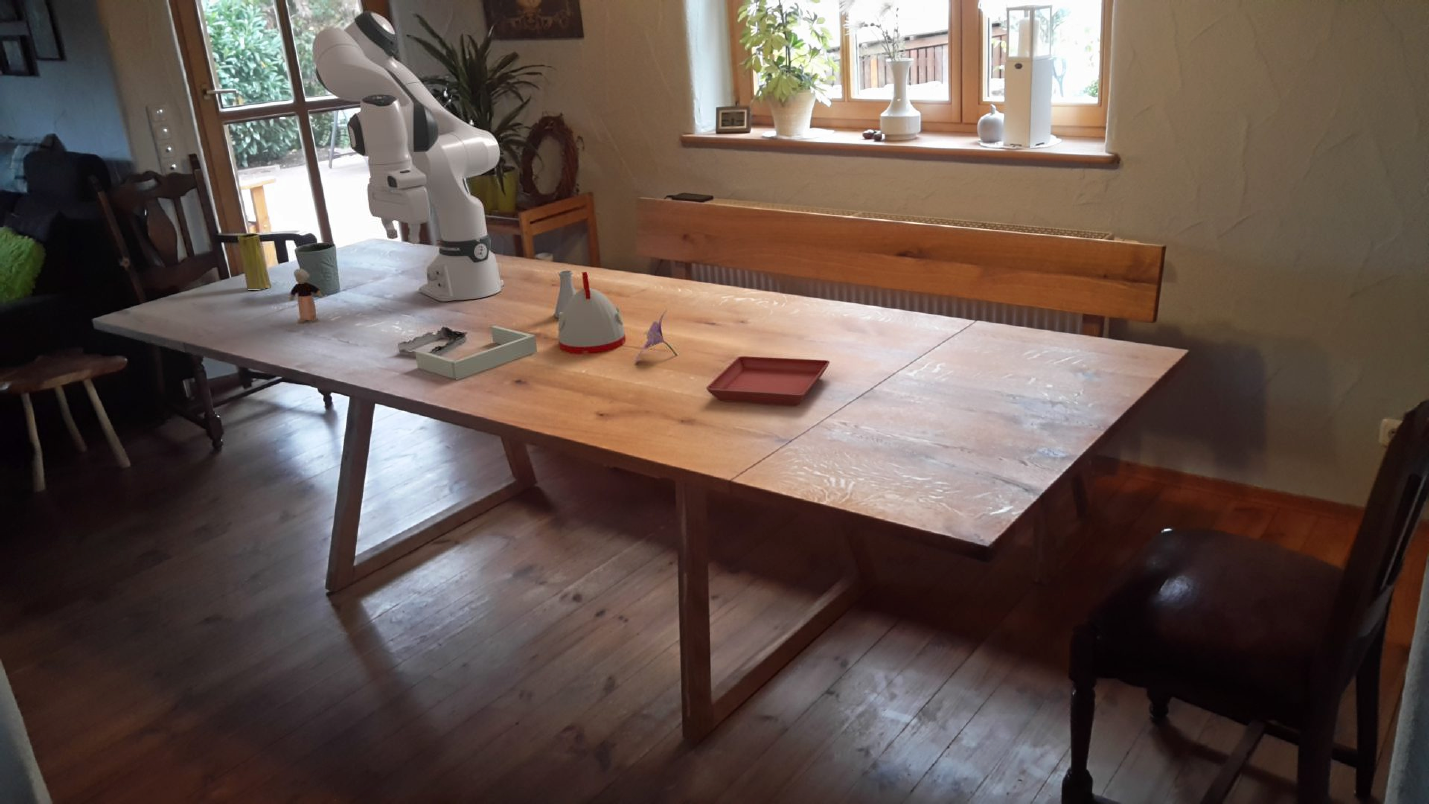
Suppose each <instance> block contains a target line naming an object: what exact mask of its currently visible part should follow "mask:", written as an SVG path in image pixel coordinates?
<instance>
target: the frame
mask: <svg viewBox="0 0 1429 804" xmlns="http://www.w3.org/2000/svg"><path fill="white" fill-rule="evenodd" d="M490 328H491V329H490V330H491V334H492V343H494V344H497V345H498V344H499V345H498V346H495V347H492V348H490V349H486V350H483V351H479V352H478V353H474V354H472V355H468V356H466V357H463V358H459V359H457V360H455V359H452V358H448V357H445V356H442V355H439V356H438V355H435V354H431V353H428V352H429V351H423V350H421V349H418V350H416V351H415V350H414V351H415V354H416V356H415V358H416V364H417V368H418V369H420V370H423V371H424V370H425V371H426V372H427V371H428V372H430V373H433V374H437V375H440V376H444V377H445V378H446V377H447V378H450V379H453V380H456V381H459V380H461V379H465V378H467V377H470V376H472V375H476V374H478V373H482V372H484V371H486V370H490V369H492V368H495V367H498V366H501V365H505V364H506V363H509V362H512V361H515V360H518V359H520V358H523V357H526V356H528V355H532V354H535V353H537V352H538V349H537V340H536V335H534V334H531V333H526V332H522V331H518V330H514V329H510V328H507V327H502V326H498V325H493V326H490Z"/></svg>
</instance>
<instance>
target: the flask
mask: <svg viewBox="0 0 1429 804" xmlns="http://www.w3.org/2000/svg"><path fill="white" fill-rule="evenodd" d="M557 273H558V275H559V279H560V285H559V293H558V297H557V302H556V306H555V311H554V316H555V318H559V313H560V312H564V309H565V307H566V305H567V303H568V302H569V300H570V299H571V298H572V296H573V295H575V294H576V293H577V291H576V289H575V286H574V283H573V279H572V275H573V271H572V270H568V269H567V270H560V271H558V272H557Z"/></svg>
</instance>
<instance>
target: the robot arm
mask: <svg viewBox="0 0 1429 804" xmlns="http://www.w3.org/2000/svg"><path fill="white" fill-rule="evenodd" d="M398 46H399V40H398V35H397V32H396V30H395V29H394V28H393V26H392V24H391V23H390V22H389V21H388V20H387V19H386V18H385V17H384V16H383V15H381V14H379V13H377V12H375V11H371V10H365V11H363V12H361V13H359V14H358V15H357V16H356V17H354V21H352V22H351V23H350V24H349V25H347V26H346V27H345V28H344V29H341V28H338V27H327V28H325V29H322V30H321V31H319V32H318V33H317V34H316V35H315V37H314V39H313V41H312V55H313V61H314V64H315V75H316V79H317V81H318V83H320V85H321V86H322V88H323V89H325V90H326V91H327V92H328V93H329V94H332V95H333V96H335V97H336V98H338V99H340V100H342V101H348V102H360V111H359V112H357V113H356V112H355V113H353V115H352V116H351V117H350V119H349V120H348V122H347V124H346V127H347V131H348V135H349V137H348V138H349V143H350V149H352V150H353V151H355V152H356V154H359V155H360V156H362V157H368V158H367V166H368V170H369V174H370V177H369V179H368V180H369V183H368V184H367V189H366V191H367V203H368V209H369V211H370V212H369V213H370V214H371V216H372V217H374V218H375V217H376V218H380V221H381V224H382V226H383V228H384V229H385V232H386V238H387V239H390V240H395V239H397V238H398V237H399V236H398V230H397V229H396V228H395V225H394V221H395V222H400V223H406V224H407V227H408V229H409V234H408V235H407V239H408V243H410V244H412V245H415V244H419V243H420V241H421V240H420V231H421V227H422V226H421V224H426V223H428V222H429V220H430V217H431V211H430V203H429V198H430V199H431V201H432V202H433V205H434V208H435V211H436V215H437V219H438V220H437V221H438V224H439V226H438V227H439V230H440V236H441V238H440V239H437V240H435V242H438V243H436V246H439V248H438V253H439V254H438V255H437V256H436V257H435V258H434V259H433V261H432V262H431V263H430V264H429V265H428V266H427V268H426V281H427V283H425V284H423V285H421V286H419V287H418V292H419V293H421V294H423V295H426V296H428V297H431V299H432V298H433V299H435V300H437V301H440V302H450V301H462V300H465V301H466V300H475V299H481V298H485V297H490V296H493V295H495V294H497V293H499V292H500V291H501V290H502V289H503V288H502V286H504V285H505V282H504V280H503V279H501V277H500V274H499V273H500V272H499V269H498V263H497V260H496V256H495V253H493V252H492V251H491V248H492V244H491V242H492V241H491V238H490V234H489V233H488V231H487V224H486V216H485V208H484V204H483V203H482V202H481V200H480V199H479V198H477V197H476V196H474V195H471V194H469V193H468V191H467V190H466V188H465V185H464V181H463V179H468V178H472V177H476V176H481V175H482V174H484V173H487V172H489V171H490V170H492V169H494V168H495V167H496V166H497V165H498V164H499V161H500V157H501V155H500V154H501V152H500V150H501V149H500V146H499V143H498V140H497V139H496V137H495V136H494V135H493V134H492V133H491V132H489V131H488V130H484V129H480V128H477V127H474V126H472V125H470V124H468V123H467V122H465V121H464V120H462V119H460V118H459V117H457V116H456V115H454V114H453V113H451V112H450V111H448V109H446V108H445V107H443V106H442V105H441V104H440V102H439V101H438V100H437V99H436V98H435V97H434V96H433V95H432V93H431V92H430V90H428V88H426V86H425V85H424V84H423V82H422V81H421V80H420V79H419V78H418V77H417V76H416V75H415V74H414V73H413V72H412V71H411V70H410V69H409V68H408V67H406V66H405V65H404V64H403V63H401V62H400V61H398V60H396V59H395V58H398V57H400V51H399V48H398ZM394 57H395V58H394Z"/></svg>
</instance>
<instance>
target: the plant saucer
mask: <svg viewBox="0 0 1429 804" xmlns="http://www.w3.org/2000/svg"><path fill="white" fill-rule="evenodd" d="M829 365H830V360H828V359H809V358H808V359H807V358H806V359H805V358H790V357H787V358H786V357H785V358H784V357H770V356H769V357H768V356H767V357H765V356H748V355H747V356H746V355H744V356H743V355H742V356H737V358H735V360H733V361H732V362H731V363H730V364H729V365H728V366H727V367H726V368H725V369H724V370H722V372H721V373H720V374H719V375H717V376H716V378H715V379H713V380H712V381H711V382H710V383H709V384H708V385H707V386H706V388H705V389H706V390H707V392H709V394H711V395H712V396H713V397H714V398H716V399H717V400H719V401H723V402H734V403H751V404H762V405H765V404H766V405H776V406H780V405H781V406H791V407H795V406H796V407H797V406H798V405H799V404H800V403H801V401H802V400H803V399H804V398H805V396H807V394H808V393H809V391H810V390H812V388H813V387H814V386H815V384H816V383H817V382H818V381H819V379H820V378H821V377H822V376H823V374H824V373H825V371H826V370H827V368H828V367H829Z"/></svg>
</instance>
